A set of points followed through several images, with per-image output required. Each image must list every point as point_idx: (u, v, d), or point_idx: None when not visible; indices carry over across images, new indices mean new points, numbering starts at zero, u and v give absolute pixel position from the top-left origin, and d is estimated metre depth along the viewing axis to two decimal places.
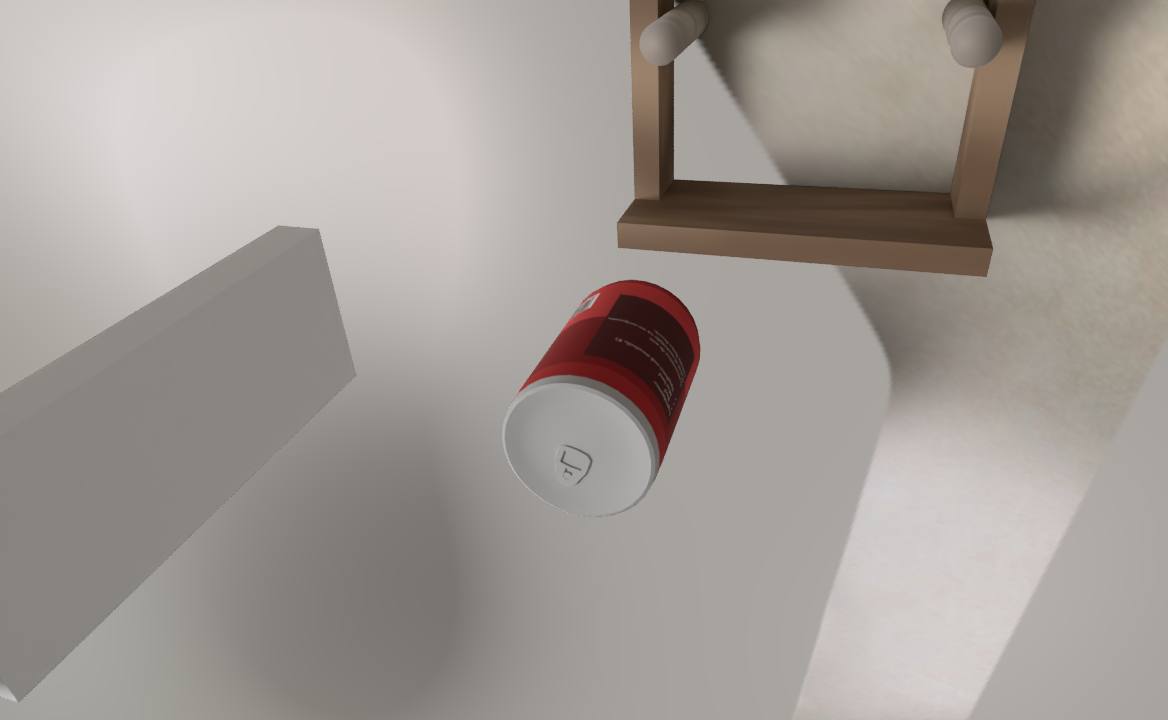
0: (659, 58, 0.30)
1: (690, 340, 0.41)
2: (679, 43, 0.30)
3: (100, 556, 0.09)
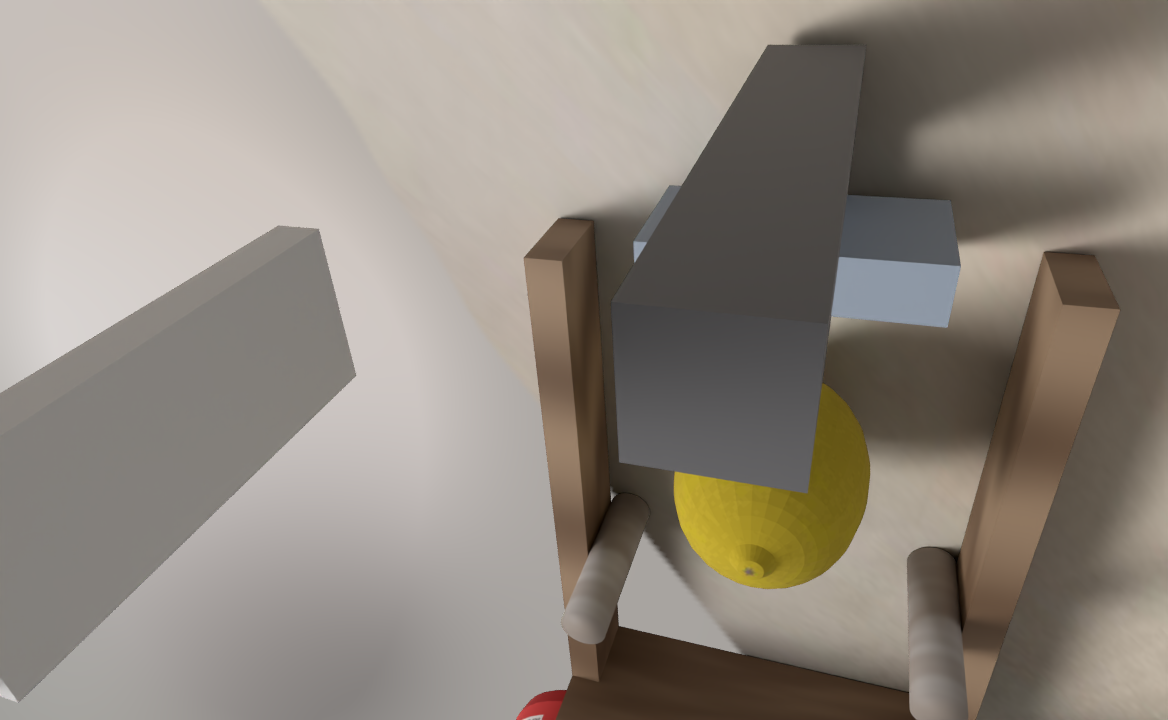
0: (583, 638, 0.27)
1: None
2: (605, 632, 0.26)
3: (100, 556, 0.09)
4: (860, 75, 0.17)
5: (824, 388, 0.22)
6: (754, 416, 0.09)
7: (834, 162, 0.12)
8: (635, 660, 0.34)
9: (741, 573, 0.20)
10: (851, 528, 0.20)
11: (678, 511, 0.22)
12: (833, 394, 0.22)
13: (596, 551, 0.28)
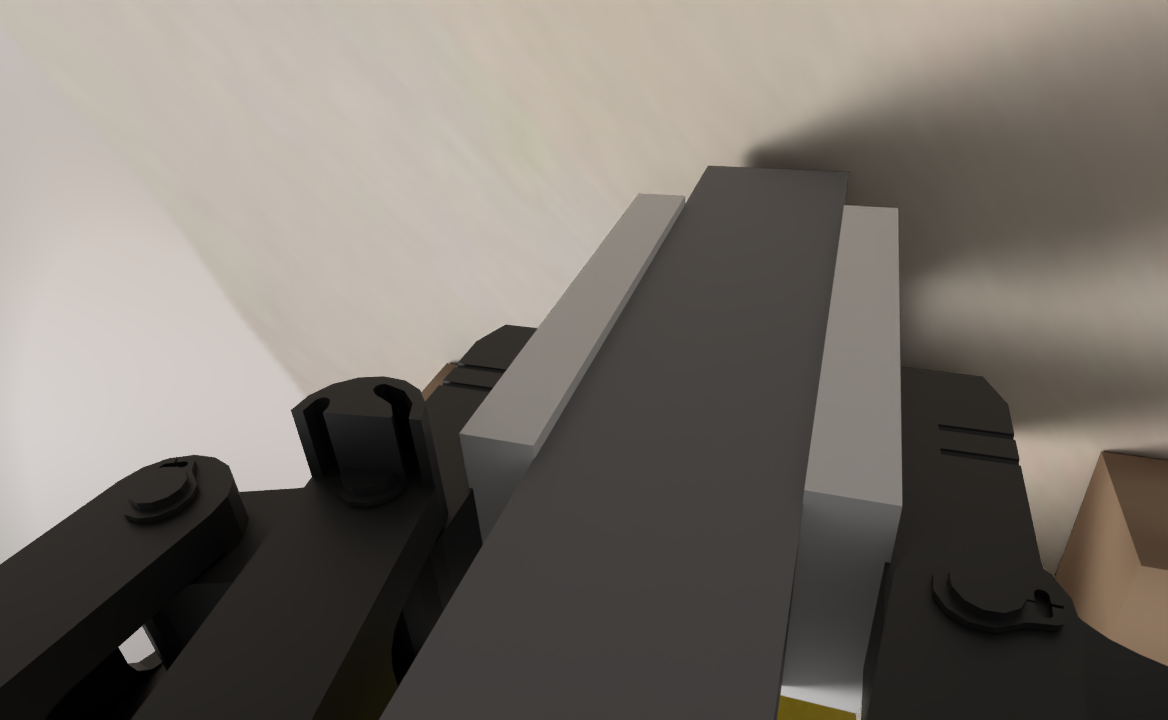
0: None
1: None
2: None
3: None
4: (835, 246, 0.11)
5: None
6: None
7: (768, 531, 0.06)
8: None
9: None
10: None
11: None
12: None
13: None
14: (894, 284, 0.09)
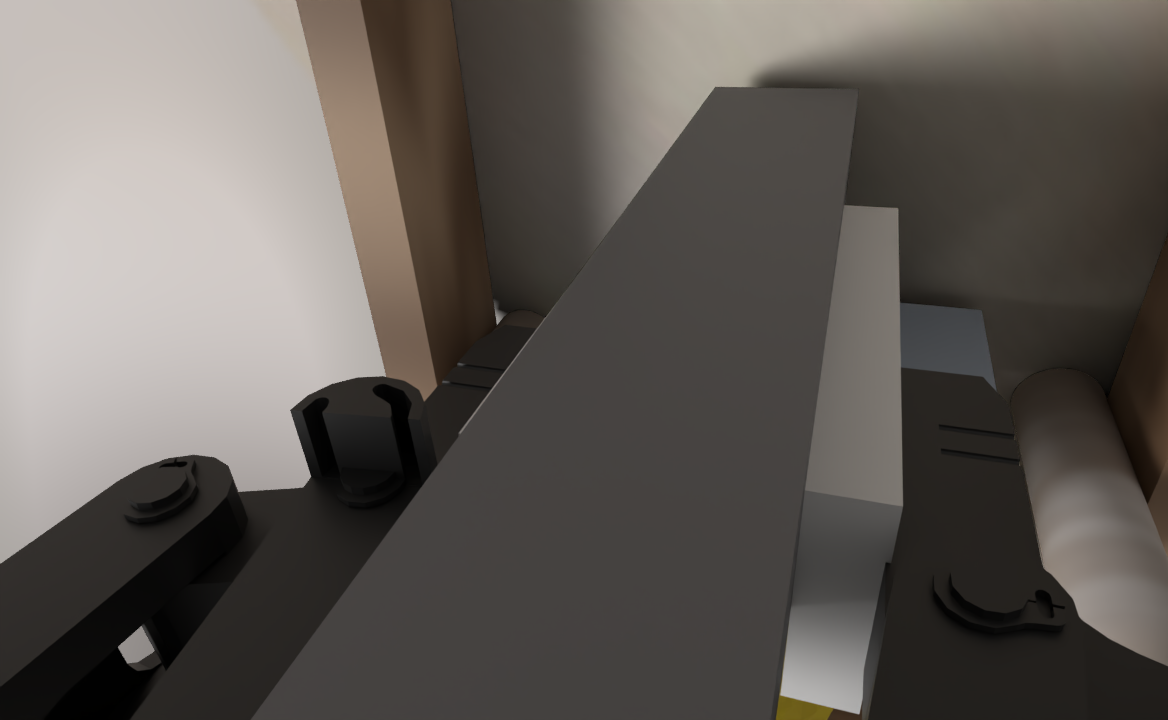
0: None
1: None
2: None
3: None
4: (847, 147, 0.10)
5: None
6: None
7: (786, 375, 0.06)
8: None
9: None
10: None
11: None
12: None
13: None
14: (894, 284, 0.09)
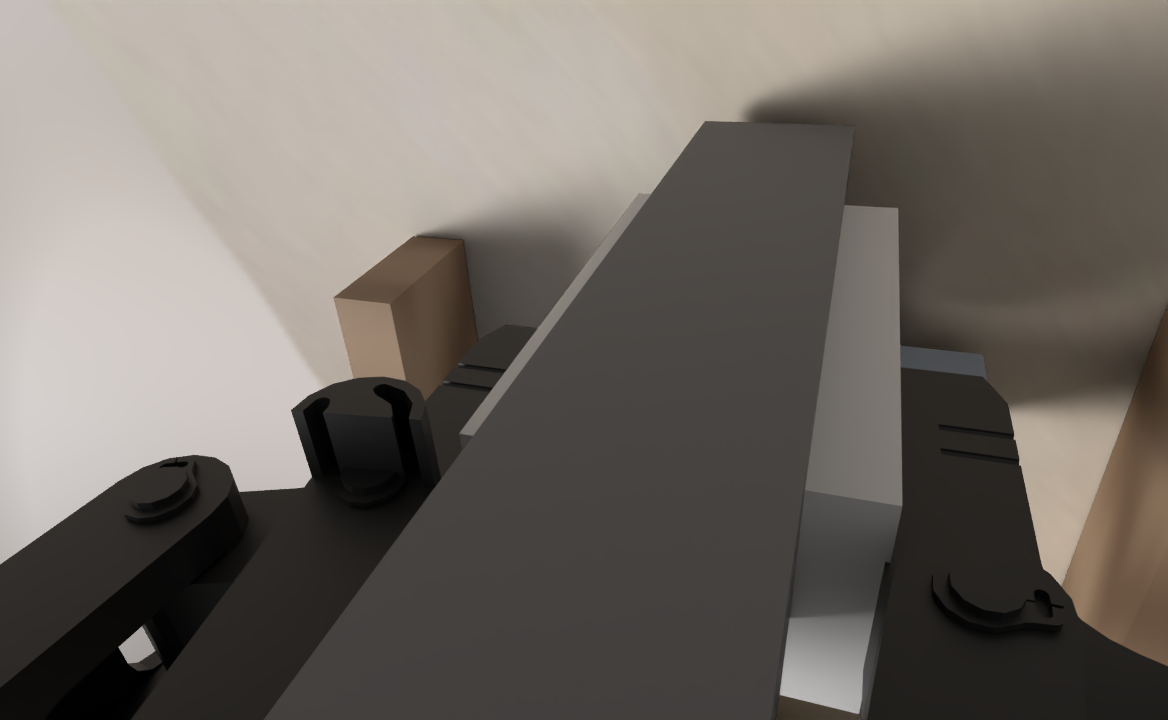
0: None
1: None
2: None
3: None
4: (842, 191, 0.10)
5: None
6: None
7: (771, 464, 0.05)
8: None
9: None
10: None
11: None
12: None
13: None
14: (894, 284, 0.09)
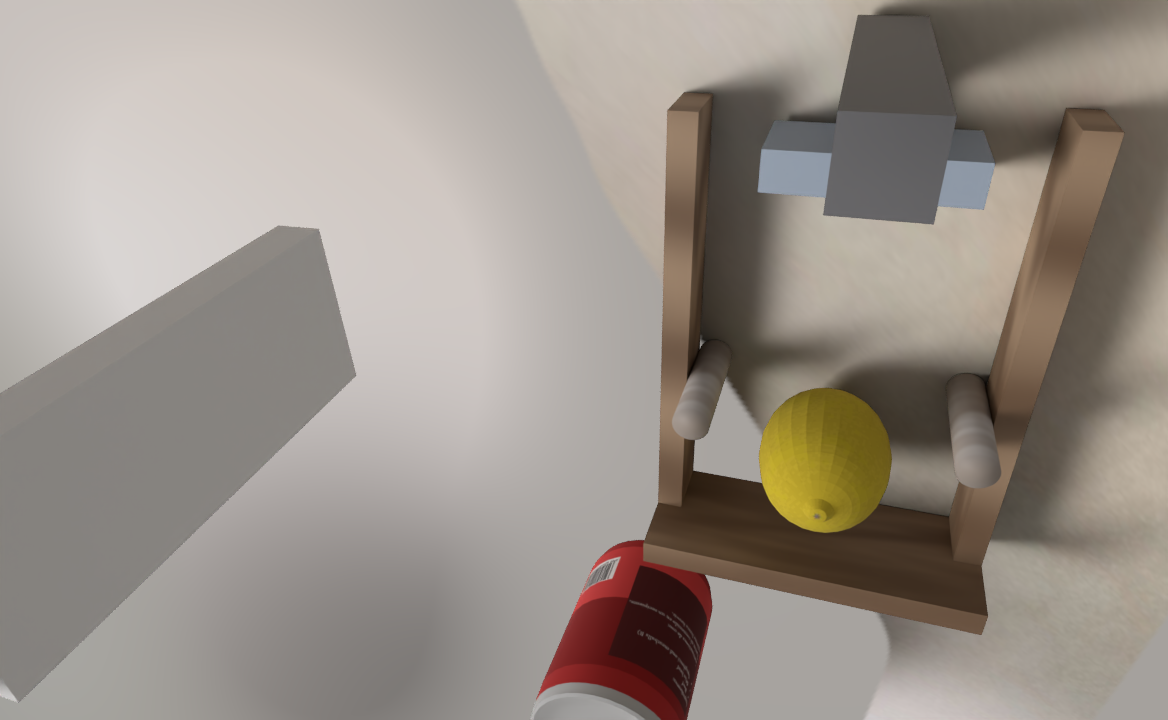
0: (689, 434, 0.33)
1: (704, 608, 0.44)
2: (708, 426, 0.33)
3: (100, 556, 0.09)
4: (931, 30, 0.25)
5: (861, 401, 0.34)
6: (909, 176, 0.17)
7: (933, 66, 0.20)
8: (710, 493, 0.40)
9: (811, 518, 0.31)
10: (880, 491, 0.32)
11: (765, 480, 0.33)
12: (867, 406, 0.34)
13: (695, 374, 0.35)
14: None
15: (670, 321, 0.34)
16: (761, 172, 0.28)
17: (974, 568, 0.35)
